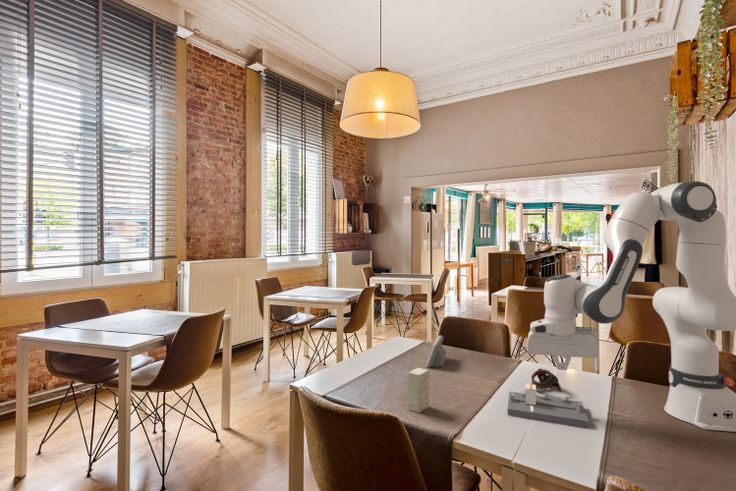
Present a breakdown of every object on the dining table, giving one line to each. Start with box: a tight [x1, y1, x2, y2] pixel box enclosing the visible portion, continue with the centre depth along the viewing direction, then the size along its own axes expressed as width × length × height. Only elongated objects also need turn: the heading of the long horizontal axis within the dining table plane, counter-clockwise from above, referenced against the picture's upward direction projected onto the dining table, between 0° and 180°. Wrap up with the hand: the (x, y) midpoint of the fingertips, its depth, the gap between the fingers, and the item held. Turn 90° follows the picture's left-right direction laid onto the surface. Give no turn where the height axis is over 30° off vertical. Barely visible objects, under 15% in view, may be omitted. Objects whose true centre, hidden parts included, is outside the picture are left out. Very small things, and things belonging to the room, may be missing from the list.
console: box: [507, 390, 589, 429], centre depth 121 cm, size 22×14×4 cm, turn 67°
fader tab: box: [525, 383, 537, 405], centre depth 123 cm, size 3×4×5 cm
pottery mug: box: [530, 367, 562, 393], centre depth 139 cm, size 12×10×8 cm
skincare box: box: [407, 367, 430, 414], centre depth 124 cm, size 6×4×12 cm
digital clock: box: [425, 335, 447, 368], centre depth 168 cm, size 16×9×11 cm, turn 149°
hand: (561, 369), depth 122 cm, fingers closed
